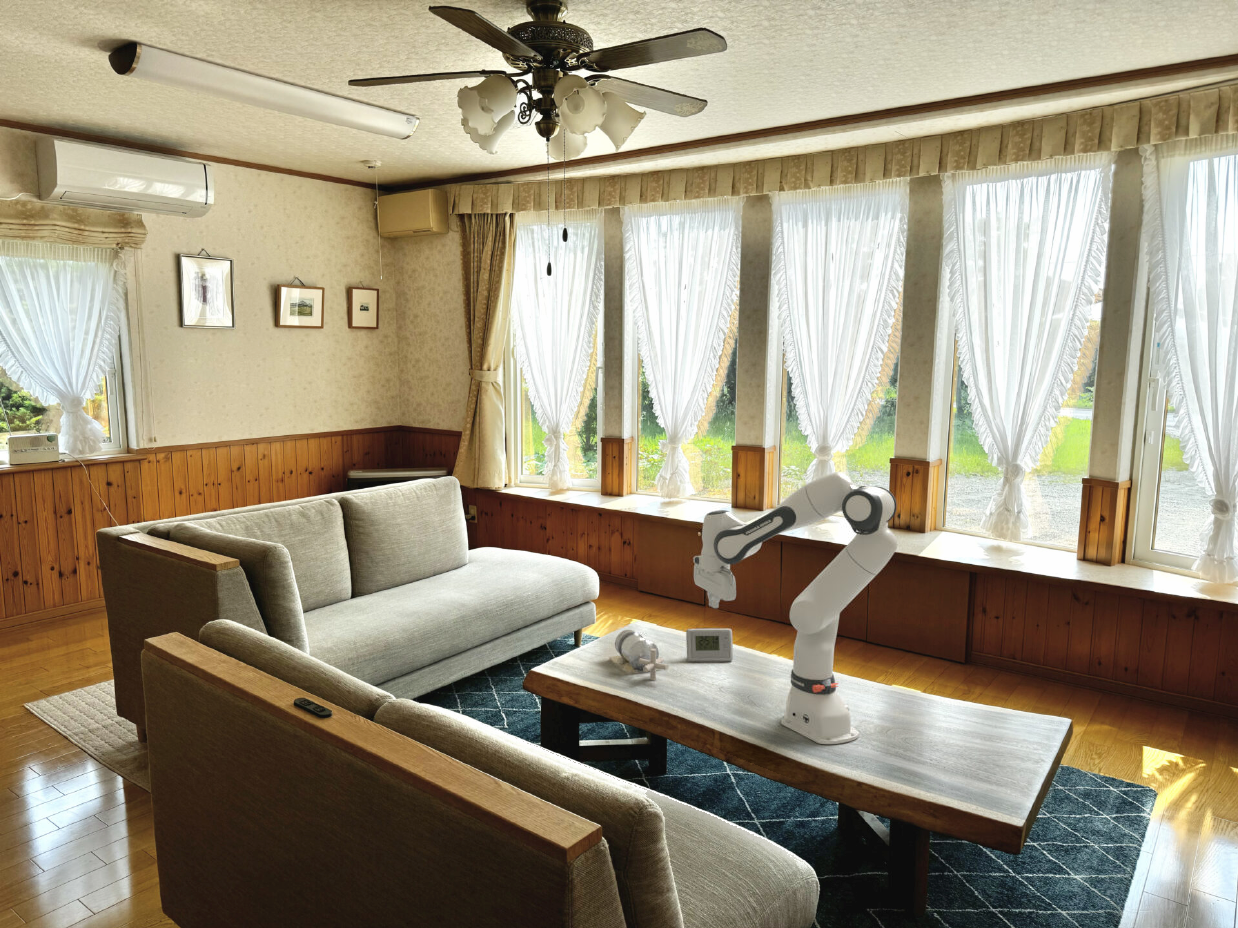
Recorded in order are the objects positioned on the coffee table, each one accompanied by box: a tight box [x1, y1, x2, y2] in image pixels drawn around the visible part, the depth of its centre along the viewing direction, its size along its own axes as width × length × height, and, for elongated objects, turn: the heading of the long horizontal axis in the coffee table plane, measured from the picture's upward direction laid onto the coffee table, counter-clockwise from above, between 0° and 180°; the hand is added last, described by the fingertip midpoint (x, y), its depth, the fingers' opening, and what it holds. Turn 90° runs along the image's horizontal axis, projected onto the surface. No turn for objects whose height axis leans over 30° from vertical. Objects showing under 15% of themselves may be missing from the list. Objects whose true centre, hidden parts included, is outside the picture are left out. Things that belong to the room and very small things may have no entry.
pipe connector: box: [639, 649, 669, 681], centre depth 268 cm, size 10×10×10 cm
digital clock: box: [685, 627, 734, 663], centre depth 287 cm, size 16×9×11 cm, turn 84°
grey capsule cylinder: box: [608, 629, 662, 676], centre depth 280 cm, size 14×13×11 cm
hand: (713, 606), depth 256 cm, fingers closed
